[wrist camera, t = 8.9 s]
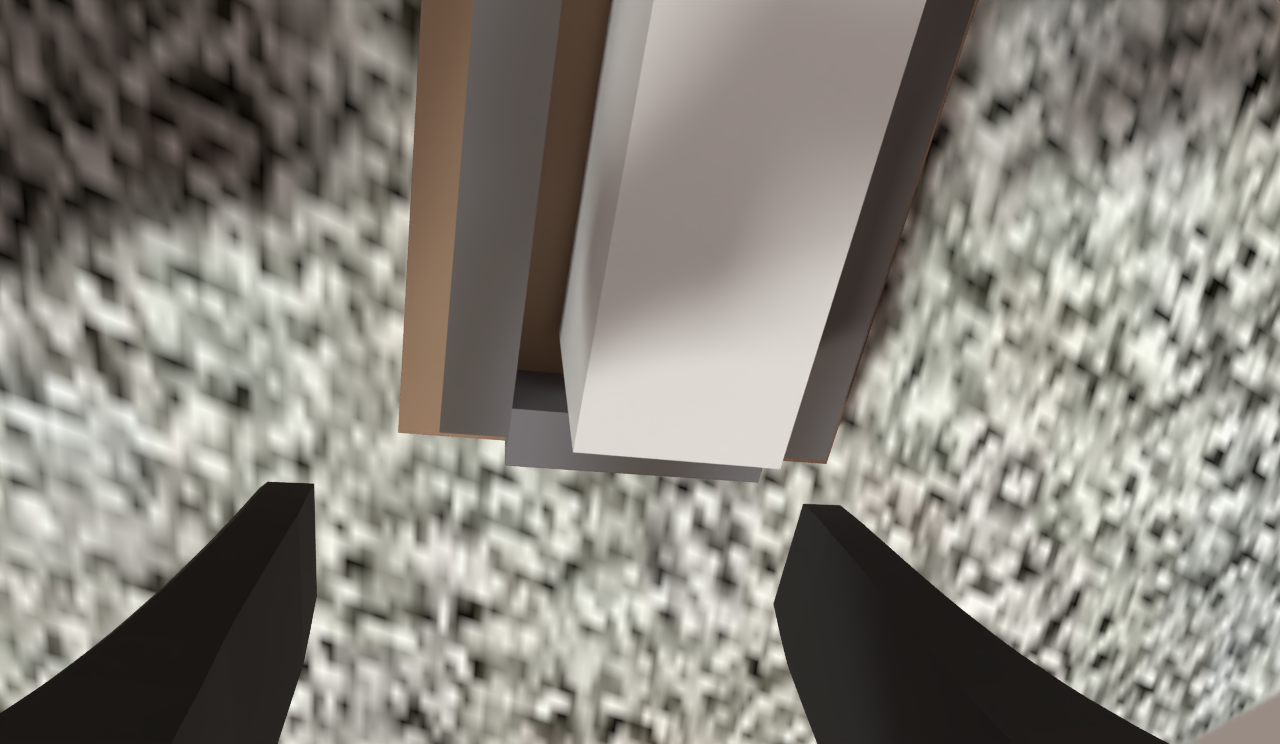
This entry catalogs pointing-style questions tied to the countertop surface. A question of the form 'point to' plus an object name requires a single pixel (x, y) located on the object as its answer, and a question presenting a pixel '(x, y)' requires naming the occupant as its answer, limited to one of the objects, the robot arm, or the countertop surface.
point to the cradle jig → (546, 218)
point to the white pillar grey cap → (720, 217)
